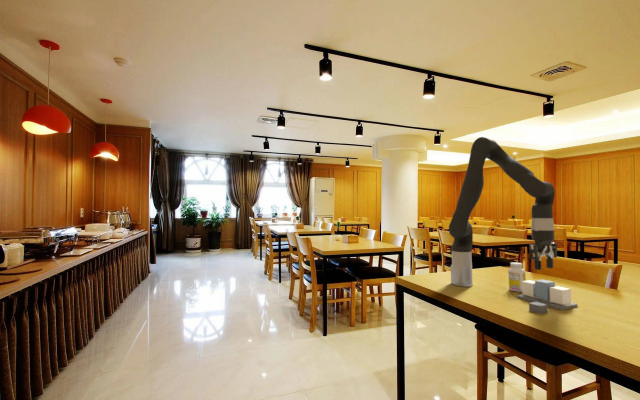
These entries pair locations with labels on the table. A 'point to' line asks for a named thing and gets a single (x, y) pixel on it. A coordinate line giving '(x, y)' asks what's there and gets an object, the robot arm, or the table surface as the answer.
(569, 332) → the table surface
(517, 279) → the supplement bottle
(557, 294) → the din rail
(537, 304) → the dark grey block
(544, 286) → the block
